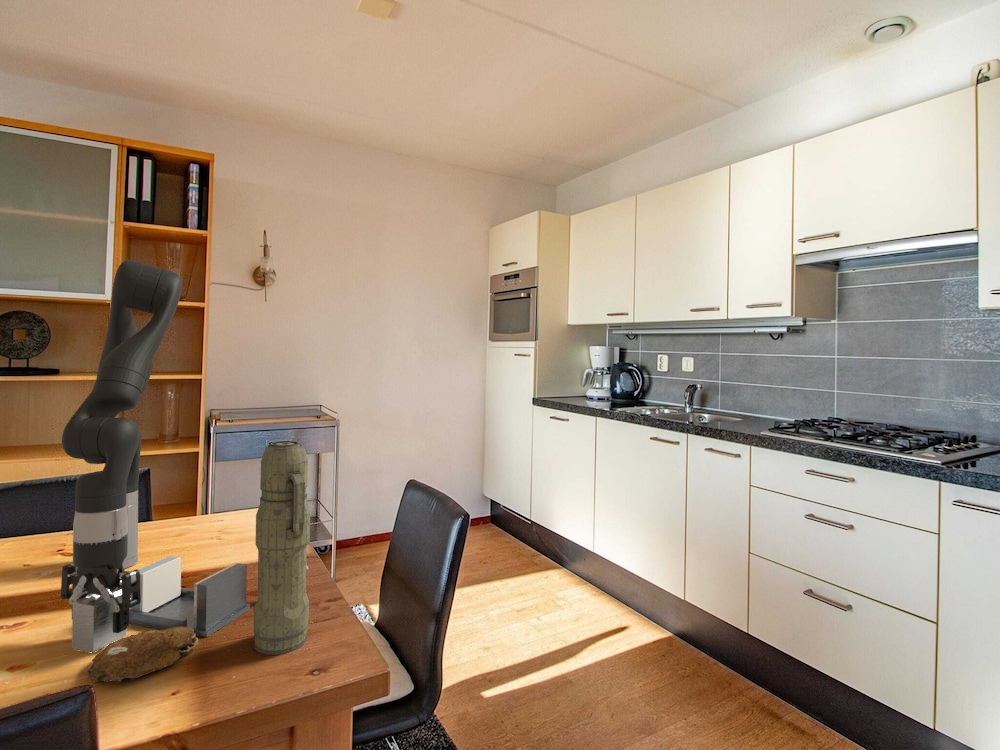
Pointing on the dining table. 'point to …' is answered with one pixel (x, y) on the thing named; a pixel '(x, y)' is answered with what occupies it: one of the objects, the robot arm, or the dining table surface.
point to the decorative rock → (142, 654)
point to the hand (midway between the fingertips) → (100, 627)
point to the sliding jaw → (159, 583)
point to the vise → (202, 604)
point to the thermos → (282, 550)
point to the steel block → (93, 623)
